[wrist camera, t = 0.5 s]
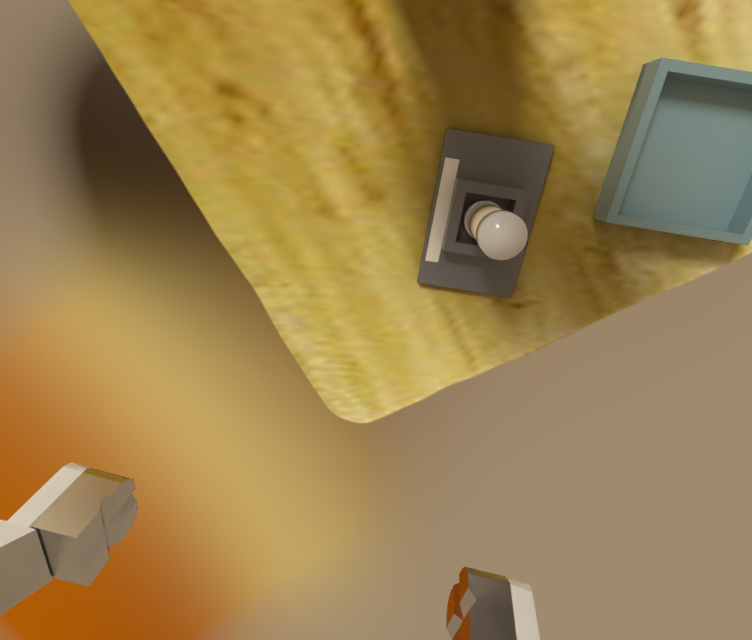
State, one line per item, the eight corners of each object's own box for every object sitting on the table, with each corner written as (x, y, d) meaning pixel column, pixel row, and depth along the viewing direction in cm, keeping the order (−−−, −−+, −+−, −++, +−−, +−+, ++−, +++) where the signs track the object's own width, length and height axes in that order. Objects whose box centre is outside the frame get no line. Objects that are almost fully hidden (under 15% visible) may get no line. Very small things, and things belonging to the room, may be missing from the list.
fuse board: (446, 128, 48) (449, 126, 45) (551, 145, 48) (562, 145, 45) (417, 280, 55) (418, 288, 52) (509, 295, 55) (516, 304, 52)
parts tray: (643, 64, 45) (661, 57, 42) (794, 88, 45) (824, 83, 42) (592, 217, 51) (605, 222, 48) (725, 239, 51) (747, 245, 48)
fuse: (467, 196, 50) (485, 208, 39) (504, 202, 50) (533, 216, 39) (459, 233, 52) (474, 256, 40) (495, 239, 52) (520, 263, 40)
